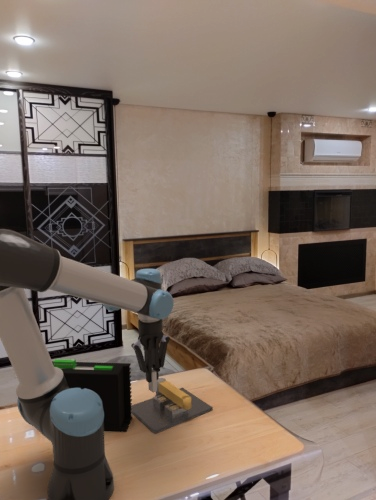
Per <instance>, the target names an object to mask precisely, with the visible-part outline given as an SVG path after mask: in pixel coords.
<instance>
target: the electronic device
mask: <svg viewBox="0 0 376 500" xmlns="http://www.w3.org/2000/svg"><path fill="white" fill-rule="evenodd" d="M52 363H53V366H54V367H57V368H60V369H61V370H62V371H63V374H64V376H65V379H66V381H67V384H68V386H69V388H70V389H71V388H81V389H84V388H86V389H89V390H92V391H94V392H95V393H97V394H98V395H99V397H100V398H101V400H102V405H103V411H104V432H109V433H110V432H115V433H127V431H128V429H129V426H130V424H131V422H132V420H133V414H132V411H131V409H132V407H131V405H133V403H132V401H133V398H132V396H133V395H132V393H133V392H132V391H131V390H132V379H131V377H132V375H131V373H132V371H131V370H132V367H131V362H129V363H127V362H121V363H120V362H94V361H93V362H91V361H76V359H71V358H70V359H69V358H65V359H64V358H54V360H52Z"/></svg>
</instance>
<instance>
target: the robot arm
mask: <svg viewBox="0 0 376 500" xmlns="http://www.w3.org/2000/svg"><path fill="white" fill-rule="evenodd" d="M135 277H136V278H133V279H128V278H126V277H124V276H120V275H117V274H115V273H111V272H109V271H105V270H102V269H100V268H97V267H93V266H92V265H88V264H85V263H82V262H79V261H77V260H74V259H71V258H67V257H64V256H62V255H61V253H60V251H59V250H58V249H56V248H54V247H51V246H48V245H46V244H43V243H41V242H38V241H36V240H34V239H32V238H31V237H28V236H26V235H24V234H22V233H19V232H17V231H15V230H13V229H8V228H7V229H6V228H0V341H1V343H2V346H3V348H4V350H5V353H6V355H7V357H8V360H9V361H10V364H11V366H12V369H13V371H14V373H15V375H16V378H17V381H18V385H17V387H16V391H15V393H16V396H17V410H18V412H19V413H20V415H21V417H22V419H23V420H24V421H25V422H26V423H27V424H29V425H30V426H32V427H33V428H34V429H36V430H37V431H38V432H39V433H40V434H42V435H43V436H44V437H45V438H46V439H48V441H49V442H50V443H51V445H52V456H53V467H52V471H51V475H50V478H49V482H48V484H47V485H48V486H47V500H109V499H110V497H111V496H112V494H113V491H114V489H115V488H114V487H115V483H114V474H113V471H112V469H111V467H110V464H109V462H108V460H107V457H106V445H105V431H104V411H103V405H102V400H101V398H100V397H99V395H98V394H97V393H95V392H94V391H92V390H89V389H86V388H84V389H81V388H71V389H70V388H69V386H68V384H67V381H66V379H65V376H64V374H63V371H62V370H61V369H60V368H57V367H54V366H53V363H52V361H53V360H52V358H51V356H50V353H49V350H48V348H47V345H46V343H45V340H44V338H43V335H42V333H41V330H40V327H39V325H38V323H37V319H36V317H35V314H34V312H33V309H32V306H31V304H30V301H29V298H28V296H27V294H26V291H25V290H30V291H34V292H38V293H45V292H47V291H49V290H50V291H53V292H58V293H60V294H61V293H62V294H65V295H67V296H68V295H69V296H73V297H77V298H80V299H84V300H87V301H90V302H95V303H98V304H102V305H103V307H104V308H105V309H106V310H108V311H110V312H113V311H119V310H120V309H121V310H124V311H129V312H132V313H134V314H137V319H138V321H137V322H138V323H137V324H138V325H137V326H138V330H137V331H138V336H137V341H136V342H135V343H134V342H133V343H131V347H132V349H133V350H134V353H135V357H136V360H137V364H138V367H139V370H140V371H141V372H143V373H144V374H145V381H146V382H147V383H148V384H147V385H148V391H150V392H152V393H156V391H157V380H158V378H160V377H159V372H160V371H161V368H163V367H164V365H165V361H166V354H167V350H168V349H167V348H168V344H169V342H170V340H171V337H170V336H169V335H165V334H164V332H163V329H164V328H163V327H164V326H163V320H164V319H166V318H168V317H169V316H170V315H171V314H172V312H173V309H174V305H175V304H174V298H173V296H172V294H171V293H170V292H169V291H165V290H164V289H162V286H163V285H162V284H163V283H162V275H161V272H160V270H158V269H156V268H143V269H142V268H141V269H139V270H136V273H135ZM142 347H143V351H144V354H143V351H142Z"/></svg>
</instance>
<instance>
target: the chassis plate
mask: <svg viewBox="0 0 376 500" xmlns="http://www.w3.org/2000/svg"><path fill="white" fill-rule="evenodd" d="M179 389H180V390H181V391H183V392H184V393H186V394H187V395H189V396H190V397H191V408H190V409H188V410H185V409H183V408H181V407H180V406H178V405H177V404H176V403H174V402H173V401H172V400H170V399H169V398H167V397H166V396H165V395H163V394H161V395H158V396H156V394H155V395H154V396H153V397H152V398H149V399H146V400H143V401H141V402H137V403H134V404H132V405H131V407H132V409H131V411H132V414H131V415H132V416H134V417H135V418H136V419H138V421H140V422H141V423H142V424H143V425H144V426H146V428H148V429H149V430H150V431H151V432H152V433H153V434H158V433H160V432H163V431H165V430H168V429H170V428H172V427H175V426H178V425H179V424H182V423H185V422H187V421H189V420H192V419H194V418H197V417H200V416H202V415H204V414H206V413H209V412H211V411H213V410H214V409H213V406H211V405H210V404H208V403H207V402H205V401H204V400H202V399H201V398H200V397H197V396H196V395H195V394H193V393H191V392H190V391H188V390H187V389H186V388H184V387H181V388H179Z"/></svg>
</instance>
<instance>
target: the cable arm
mask: <svg viewBox="0 0 376 500" xmlns="http://www.w3.org/2000/svg"><path fill="white" fill-rule="evenodd" d="M161 394H163V395H165V396H166V397H167V398H169V399H170V400H172V401H173V402H174V403H176V404H177V405H178V406H180V407H181V408H183V409H185V410H188V409H190V408H191V397H190V396H189V395H187V394H186V393H184V392H183V391H181V390H180V388H178V387H177V386H175V385H174V384H172V383H171V382H170V381H168V380H166V378H163V377H159V378H158V380H157V391H156V392H155V395H156V396H158V395H161Z"/></svg>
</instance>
